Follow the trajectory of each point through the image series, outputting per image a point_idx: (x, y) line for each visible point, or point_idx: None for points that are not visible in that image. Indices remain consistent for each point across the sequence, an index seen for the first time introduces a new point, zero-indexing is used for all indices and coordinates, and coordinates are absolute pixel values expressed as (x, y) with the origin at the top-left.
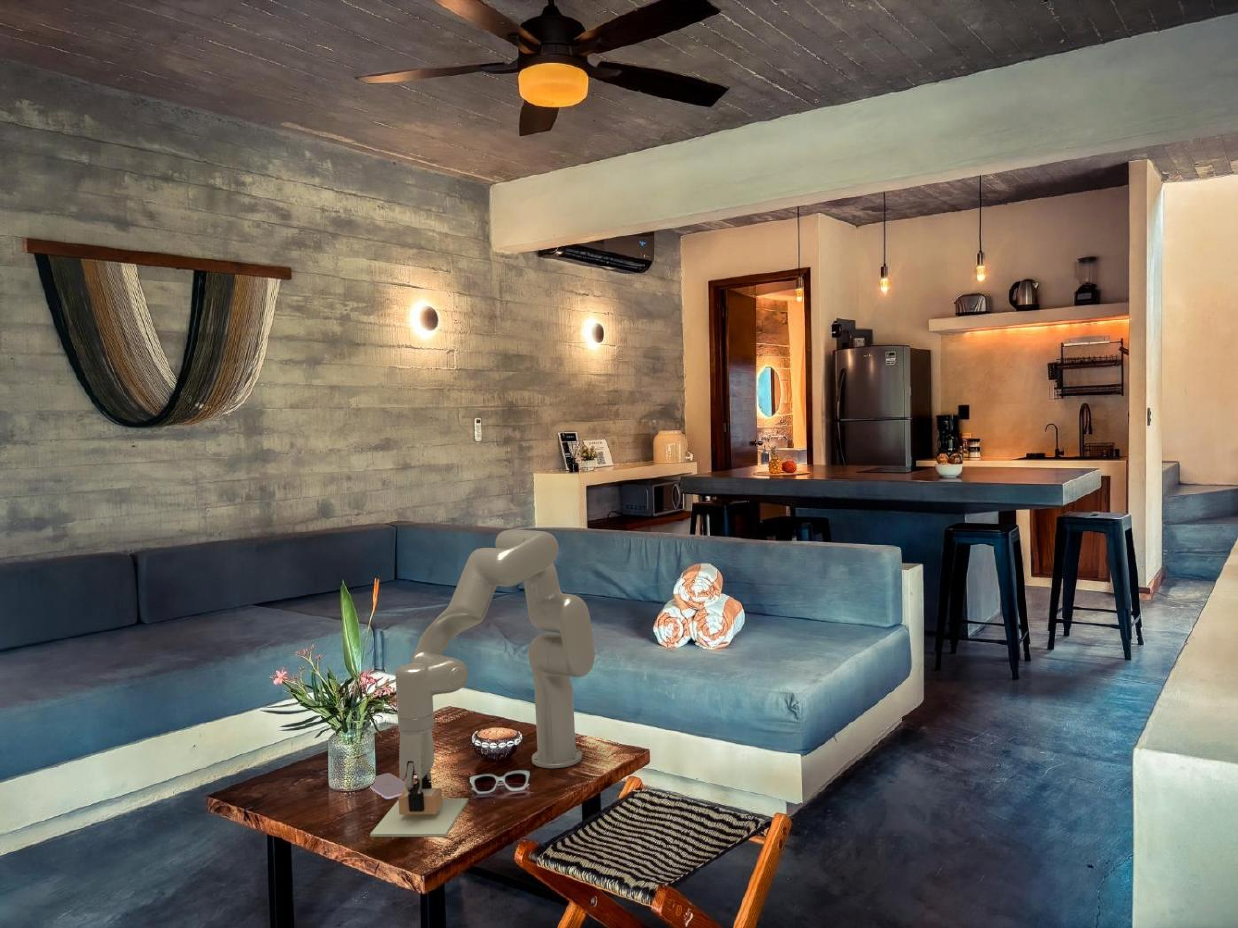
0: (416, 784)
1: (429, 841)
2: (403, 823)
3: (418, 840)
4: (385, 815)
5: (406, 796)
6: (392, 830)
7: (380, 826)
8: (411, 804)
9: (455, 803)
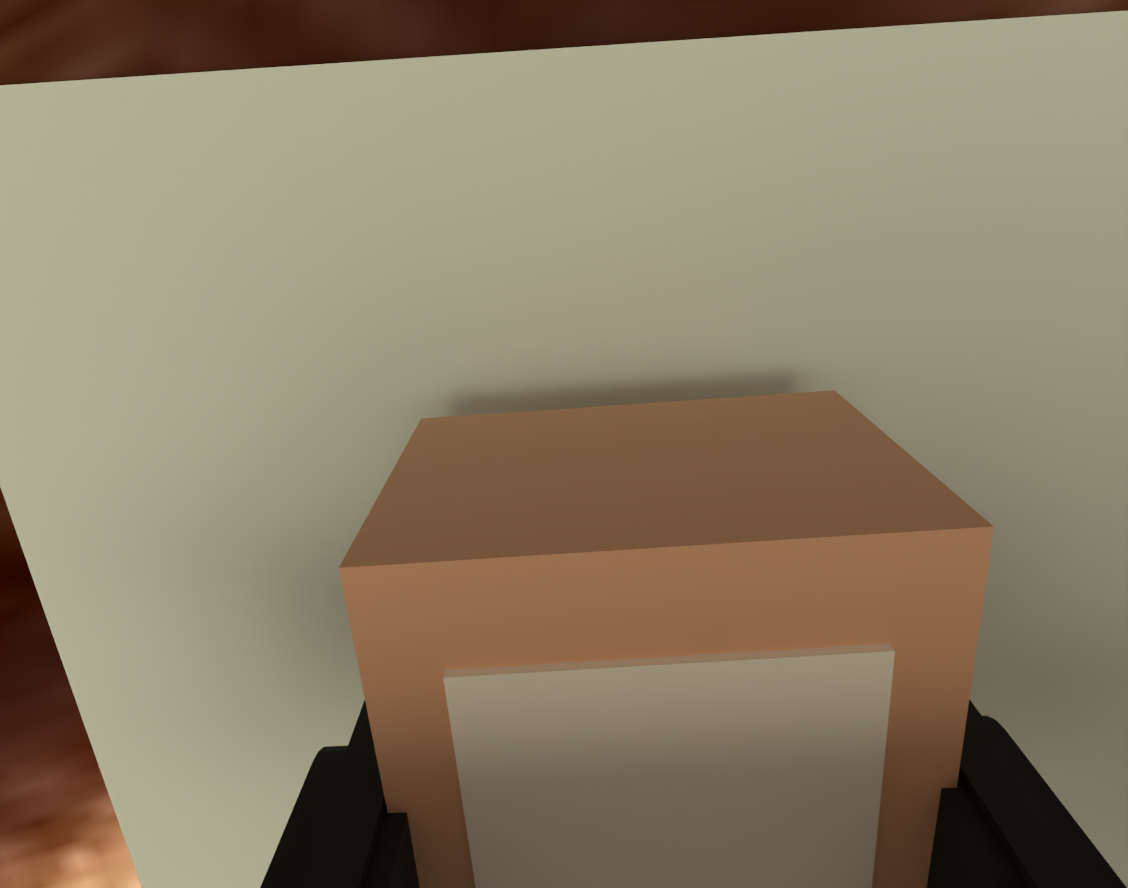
0: (1018, 861)
1: (46, 865)
2: (347, 481)
3: (31, 764)
4: (616, 45)
5: (456, 719)
6: (97, 414)
7: (172, 157)
8: (297, 798)
9: None
